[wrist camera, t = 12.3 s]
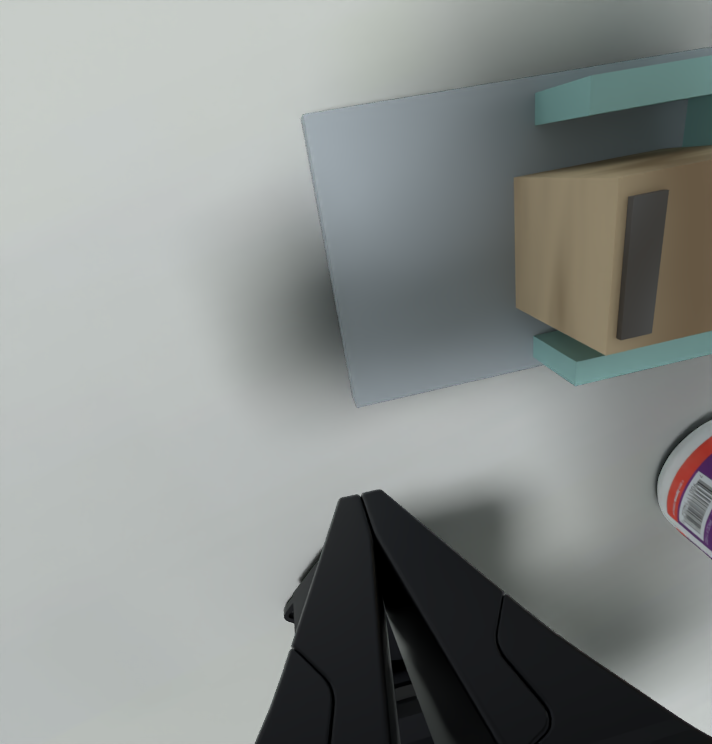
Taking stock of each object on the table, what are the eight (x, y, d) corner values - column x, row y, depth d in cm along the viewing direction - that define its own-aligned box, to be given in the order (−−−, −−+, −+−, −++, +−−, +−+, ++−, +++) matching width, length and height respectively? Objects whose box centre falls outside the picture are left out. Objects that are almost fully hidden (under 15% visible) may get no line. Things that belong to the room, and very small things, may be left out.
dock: (691, 53, 17) (813, 18, 13) (656, 326, 22) (738, 358, 18) (300, 118, 16) (311, 100, 12) (352, 395, 20) (371, 446, 16)
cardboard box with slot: (662, 148, 17) (833, 136, 12) (648, 278, 19) (788, 315, 14) (513, 177, 16) (625, 177, 11) (515, 307, 19) (610, 357, 13)
